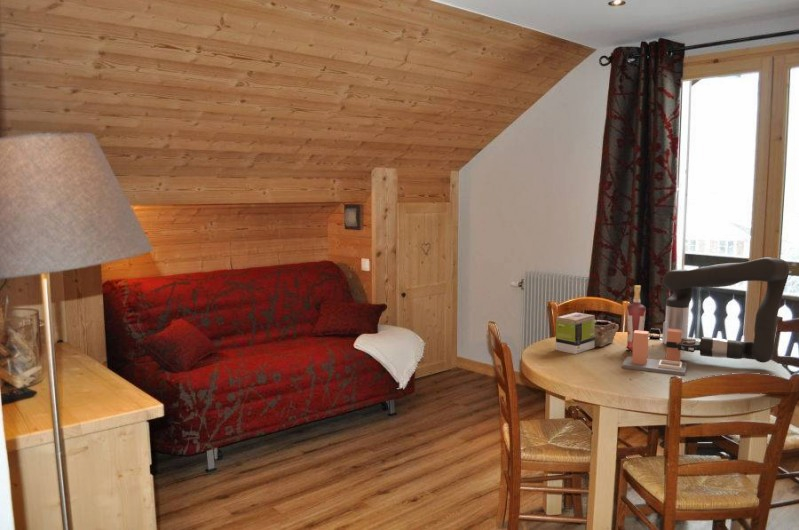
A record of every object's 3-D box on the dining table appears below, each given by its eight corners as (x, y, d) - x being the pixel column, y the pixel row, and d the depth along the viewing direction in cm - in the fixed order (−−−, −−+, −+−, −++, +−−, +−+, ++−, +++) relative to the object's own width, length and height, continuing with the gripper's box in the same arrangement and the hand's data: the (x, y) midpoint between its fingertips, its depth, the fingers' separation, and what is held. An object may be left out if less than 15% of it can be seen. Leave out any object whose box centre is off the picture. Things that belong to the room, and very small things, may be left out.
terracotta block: (665, 360, 254) (667, 330, 253) (666, 357, 259) (668, 328, 257) (679, 361, 252) (681, 332, 251) (680, 358, 256) (681, 329, 255)
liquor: (643, 353, 264) (646, 287, 261) (625, 352, 267) (627, 286, 264) (644, 349, 271) (646, 285, 268) (625, 348, 274) (628, 284, 270)
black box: (670, 338, 293) (671, 328, 293) (669, 342, 286) (670, 332, 286) (640, 336, 299) (640, 325, 298) (638, 339, 292) (639, 329, 291)
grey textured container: (573, 343, 282) (574, 322, 281) (597, 336, 295) (597, 316, 294) (600, 349, 272) (601, 327, 271) (623, 341, 286) (624, 320, 284)
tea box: (574, 344, 281) (575, 311, 279) (594, 348, 273) (596, 315, 271) (554, 350, 271) (555, 316, 269) (574, 354, 263) (576, 319, 262)
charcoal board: (622, 367, 243) (623, 334, 242) (627, 359, 256) (628, 327, 254) (684, 375, 233) (686, 340, 232) (686, 366, 246) (688, 332, 244)
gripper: (714, 334, 254) (668, 330, 262) (713, 342, 241) (665, 337, 249) (713, 352, 255) (667, 347, 263) (712, 361, 242) (664, 355, 250)
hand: (667, 342), depth 256 cm, fingers closed on terracotta block, 5 cm apart
